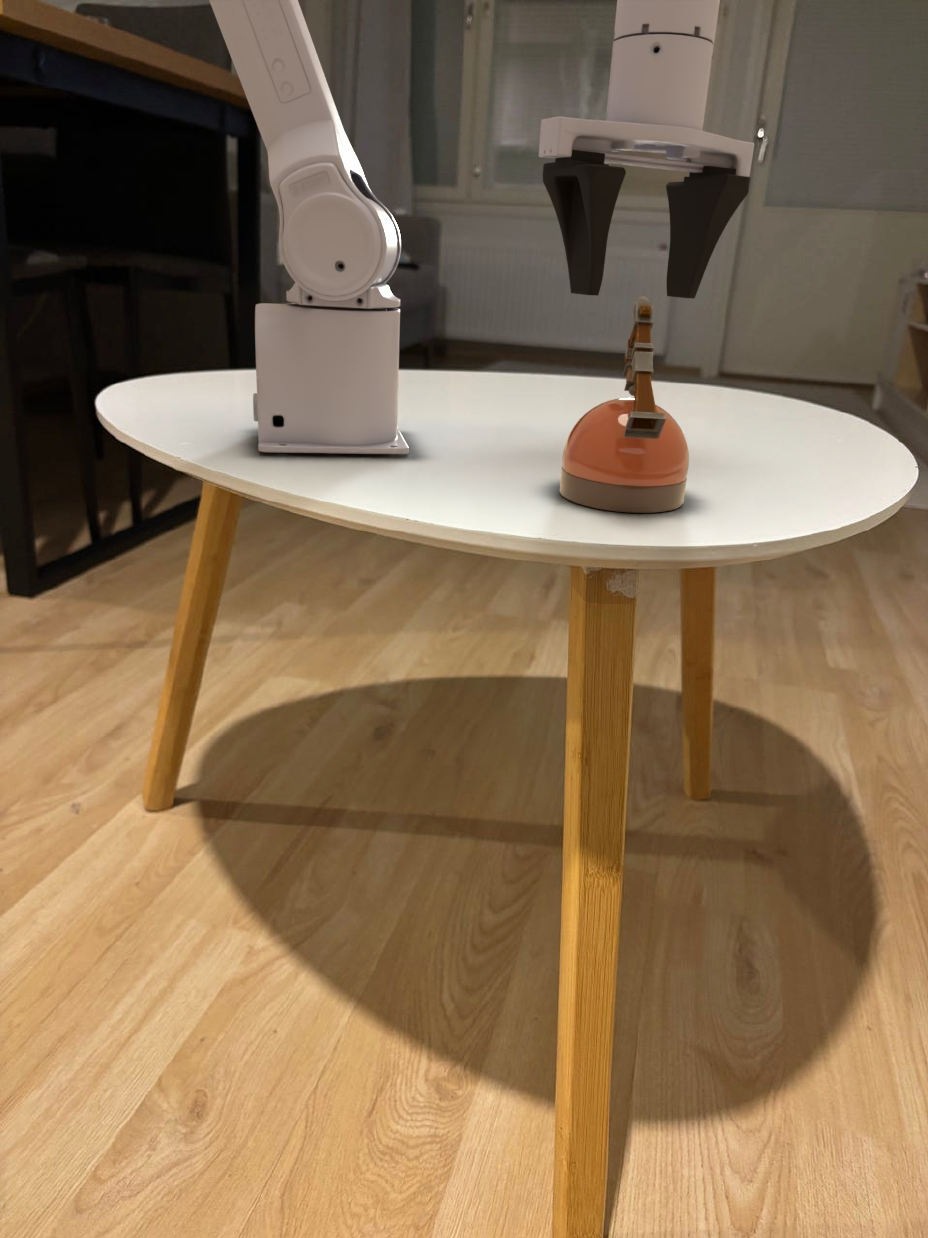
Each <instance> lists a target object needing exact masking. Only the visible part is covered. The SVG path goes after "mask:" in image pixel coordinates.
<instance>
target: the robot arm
mask: <svg viewBox="0 0 928 1238" xmlns="http://www.w3.org/2000/svg"><path fill="white" fill-rule="evenodd" d="M208 1H209V4H210V7H211V8H212V11H213V14H214V17H215V20H216V22H217V24H218V27H219V29H220V32H221V34H222V37H223V41H224V42H225V45H226V48H227V51H228V53H229V55H230V58H231V61H232V63H233V66H234V69H235V71H236V73H237V76H238V79H239V81H240V84H241V87H242V89H243V92H244V94H245V98H246V100H247V102H248V105H249V108H250V110H251V113H252V115H253V118H254V120H255V123H256V126H257V129H258V131H259V133H260V136H261V138H262V141H263V144H264V146H265V149H266V153H267V164H268V180H269V186H270V187H271V190H272V192H273V195H274V198H275V201H276V205H277V207H278V213H279V228H278V229H279V231H278V248H279V252H280V257H281V261H282V263H283V265H284V267H285V270H286V271H287V273H288V275H289V276H290V278H291V279H292V280H293V282H294V284H293V285H292V287H291V288H290V289H289V290H286V291H285V297H286V299H285V300H286V301H287V302H288V303H271V302H270V303H267V302H265V303H261V302H260V303H256V304H255V308H254V339H255V340H254V341H255V342H254V344H255V346H254V347H255V369H256V370H255V374H256V376H255V377H256V392H254V393H253V394H252V411H253V412H252V413H253V421H254V422H256V423H257V432H258V445H257V446H258V448H257V449H258V451H259V452H261V453H285V454H286V453H287V454H288V453H290V454H350V455H351V454H354V455H355V454H357V455H359V454H361V455H407V454H409V452H410V451H409V450H410V447H409V445H408V443H407V441H406V439H405V438H404V437H403V434H402V433H401V431H400V429H399V428H398V416H399V415H398V413H399V375H400V374H399V371H400V334H401V333H400V331H401V330H400V329H401V308H399V307H401V298H398V297H396V296H395V295H394V293H392V291H391V288H390V286H389V285H388V284H387V282H388V281H389V280H390V279H391V278H392V276H393V275H394V273H395V272H396V270H397V268H398V266H399V262H400V259H401V253H402V239H401V233H400V229H399V226H398V224H397V222H396V220H395V218H394V216H393V214H392V213H391V212H390V210H389V209H388V208H387V207H386V206H385V205H384V204H383V203H382V202H381V201H380V200H379V199H378V198H377V197H376V195H375V194H374V193H373V192H372V190H371V188H370V187H369V184H368V181H367V178H366V177H365V174H364V170H363V168H362V166H361V163H360V161H359V159H358V157H357V155H356V153H355V151H354V148H353V147H352V145H351V142H350V140H349V138H348V136H347V133H346V132H345V129H344V125H343V124H342V120H341V118H340V115H339V112H338V109H337V107H336V104H335V100H334V98H333V95H332V92H331V90H330V86H329V84H328V82H327V78H326V76H325V72H324V70H323V67H322V64H321V62H320V59H319V56H318V53H317V51H316V47H315V44H314V42H313V39H312V36H311V33H310V31H309V28H308V25H307V22H306V19H305V16H304V14H303V11H302V8H301V6H300V2H299V0H208ZM720 2H721V0H617V1H616V8H615V19H614V20H615V21H614V28H613V29H614V31H613V38H612V39H613V41H612V49H611V58H610V71H609V72H610V73H609V79H608V80H609V81H608V91H607V99H606V111H605V120H600V119H588V118H587V119H586V118H577V117H568V116H561V115H559V116H554V117H549V118H543V119H541V121H540V132H539V148H538V157H539V158H545V159H554V162H545V163H543V164H542V165H543V166H542V183H543V185H544V187H545V189H546V192H547V193H548V196H549V198H550V201H551V203H552V206H553V209H554V211H555V215H556V218H557V221H558V224H559V229H560V231H561V232H560V233H561V237H562V242H563V247H564V252H565V257H566V264H567V272H568V279H569V287H570V288H569V289H570V294H574V295H581V296H582V295H585V296H599V295H600V290H601V287H602V283H603V280H604V279H603V278H604V270H605V263H606V254H607V248H608V247H607V246H608V239H609V233H610V228H611V225H612V219H613V215H614V210H615V208H616V203H617V201H618V198H619V193H620V191H621V188H622V185H623V183H624V180H625V177H626V174H627V170H626V168H625V167H623V166H628V167H629V166H630V167H640V168H648V169H657V170H667V171H673V172H674V171H675V172H683V173H684V172H685V173H688V176H684V177H683V181H669V182H668V183H666V185H665V189H666V195H667V196H666V197H667V202H668V213H669V249H668V250H669V251H668V259H667V267H666V269H667V270H666V281H665V282H666V296H667V297H670V298H671V297H673V298H681V299H696V297H697V293H698V291H699V288H700V286H701V283H702V281H703V278H704V275H705V272H706V270H707V267H708V264H709V262H710V259H711V257H712V256H713V252H714V251H715V248H716V246H717V244H718V242H719V240H720V238H721V236H722V235H723V233H724V231H725V229H726V227H727V225H728V224H729V222H730V220H731V219H732V217H733V215H734V214H735V213H736V211H737V209H738V208H739V206H740V205H741V204H742V203H743V201H744V200H745V199H746V197H747V196H748V194H749V191H750V186H751V185H750V184H751V177H750V176H751V170H752V169H751V168H752V163H753V157H754V150H755V142H751V141H744V140H739V139H735V138H731V137H727V136H723V135H719V134H716V133H712V132H708V131H704V130H703V129H704V123H705V115H706V107H707V98H708V93H709V92H708V91H709V84H710V77H711V70H712V64H713V63H712V62H713V55H714V46H715V41H716V34H717V26H718V18H719V11H720ZM619 152H640V153H653V154H665V158H658V157H651V156H650V157H649V156H641V155H635V154H634V155H633V154H626V153H625V154H624V153H619ZM610 164H612V165H610ZM614 165H620V166H614ZM621 165H622V166H621Z"/></svg>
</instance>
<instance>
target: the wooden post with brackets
mask: <svg viewBox="0 0 928 1238" xmlns="http://www.w3.org/2000/svg"><path fill="white" fill-rule="evenodd" d="M654 304H655V301H650V300H649V299H648V297H647V296H643V295H642V296H639V297H638V298H637V299H636V300H635V302H634V305H633V308H632V312H631V313H632V330H631V334H630V337H629V338H627V340H626V341H627V342H626V343H625V344H626V345H625V353H624V363H625V366H624V368H623V373H622V377H625V386H624V390H623V391H624V392H628V394H629V395H630V396H632V397H633V398H634V405H633V411H630V415H629V418H628V421H627V424H626V427H625V434H624V437H626V438H645V439H659V437H660V434H661V432H662V429H663V426H664V424H665V421H666V418H665V413H657V409H656V406H655V405H656V402H655V396H654V390H653V385H652V384H653V383H652V378H653V375H654V372H655V371H654V355H655V353H654V348H655V347H654V343H652V342H651V341H652V339H651V337H652V334H651V332H652V329H653V325H654V323H655V322H654Z"/></svg>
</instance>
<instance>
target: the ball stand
mask: <svg viewBox="0 0 928 1238" xmlns="http://www.w3.org/2000/svg"><path fill="white" fill-rule="evenodd" d="M633 405H634V397H622V398H621V397H620V398H614V399H610V400H607V401H604V402H602V403H600V404H598V405H596V406H593V407H592V408H591V409H589V410H588V411H587V412H585V413H584V414H583V416H581V417H580V418H579V419H578V420H577V421H576V422H575V424H574V425H573V427H572V428H571V430H570V431H569V434H568V436H567V438H566V441H565V444H564V448H563V452H562V463H561V464H562V466H561V470H560V471H561V472H560V480H559V494H560V495H561V496H562V497H563V498H564V499H566V500H567V501H570V502H572V503H574V504H577V505H581V506H584V507H587V508H593V509H597V510H602V511H609V512H616V513H617V512H618V513H630V514H653V513H664V512H669V511H674V510H676V509H679V508H681V507H682V506H683V504H684V501H685V493H686V487H687V481H688V478H687V476H688V471H689V467H690V465H689V464H690V463H689V462H690V454H689V452H690V451H689V446H688V442H687V440H686V437H685V434H684V432H683V430H682V428H681V426H680V425H679V424H678V422H677V420H676V419H675V418H673V417H674V416H672V415H671V414H670V413H669V412H667V411H666V410H665V409H664V408H663V407H660V406H659V405H658V404H655V406H656V409H657V413H665V418H666V421H665V424H664V426H663V429H662V432H661V434H660V437H659V439H645V438H626V437H624V434H625V427H626V424H627V421H628V418H629V415H630V411H633Z"/></svg>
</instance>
